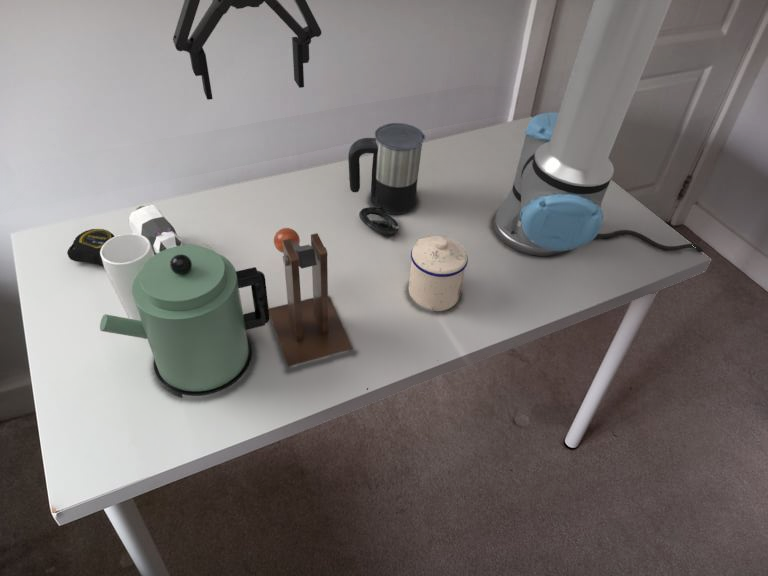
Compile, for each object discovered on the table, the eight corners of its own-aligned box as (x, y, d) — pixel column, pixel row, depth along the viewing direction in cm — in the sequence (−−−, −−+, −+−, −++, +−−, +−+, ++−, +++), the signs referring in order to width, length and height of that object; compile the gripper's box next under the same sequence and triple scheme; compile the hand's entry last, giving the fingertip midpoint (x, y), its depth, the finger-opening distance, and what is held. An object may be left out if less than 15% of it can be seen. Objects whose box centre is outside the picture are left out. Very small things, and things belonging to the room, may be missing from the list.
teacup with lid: (469, 306, 99) (481, 254, 91) (419, 318, 96) (426, 265, 88) (439, 260, 107) (448, 208, 99) (392, 270, 104) (397, 217, 96)
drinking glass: (131, 305, 95) (105, 232, 84) (175, 304, 96) (155, 232, 85) (121, 337, 90) (93, 264, 80) (167, 336, 91) (145, 264, 80)
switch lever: (274, 253, 94) (269, 228, 93) (298, 248, 96) (294, 223, 94) (295, 275, 80) (290, 247, 79) (324, 269, 82) (319, 241, 80)
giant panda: (133, 244, 105) (119, 201, 98) (163, 233, 108) (152, 190, 101) (168, 293, 97) (155, 249, 91) (200, 280, 100) (190, 236, 93)
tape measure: (69, 265, 101) (62, 248, 98) (92, 240, 105) (86, 223, 103) (106, 273, 100) (100, 256, 97) (128, 247, 105) (122, 231, 102)
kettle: (261, 310, 96) (248, 208, 81) (284, 377, 87) (274, 275, 72) (118, 345, 89) (75, 240, 75) (127, 421, 80) (81, 319, 66)
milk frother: (407, 184, 123) (413, 119, 113) (438, 230, 113) (448, 163, 102) (341, 195, 119) (341, 129, 108) (367, 245, 109) (370, 177, 98)
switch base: (267, 313, 95) (257, 227, 83) (327, 299, 98) (326, 213, 86) (288, 370, 88) (280, 284, 75) (352, 352, 91) (354, 266, 78)
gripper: (325, -86, 80) (327, 68, 95) (128, -78, 72) (164, 88, 87) (343, -70, 75) (342, 89, 90) (134, -60, 67) (171, 112, 82)
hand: (254, 89), depth 88 cm, fingers open, 13 cm apart
